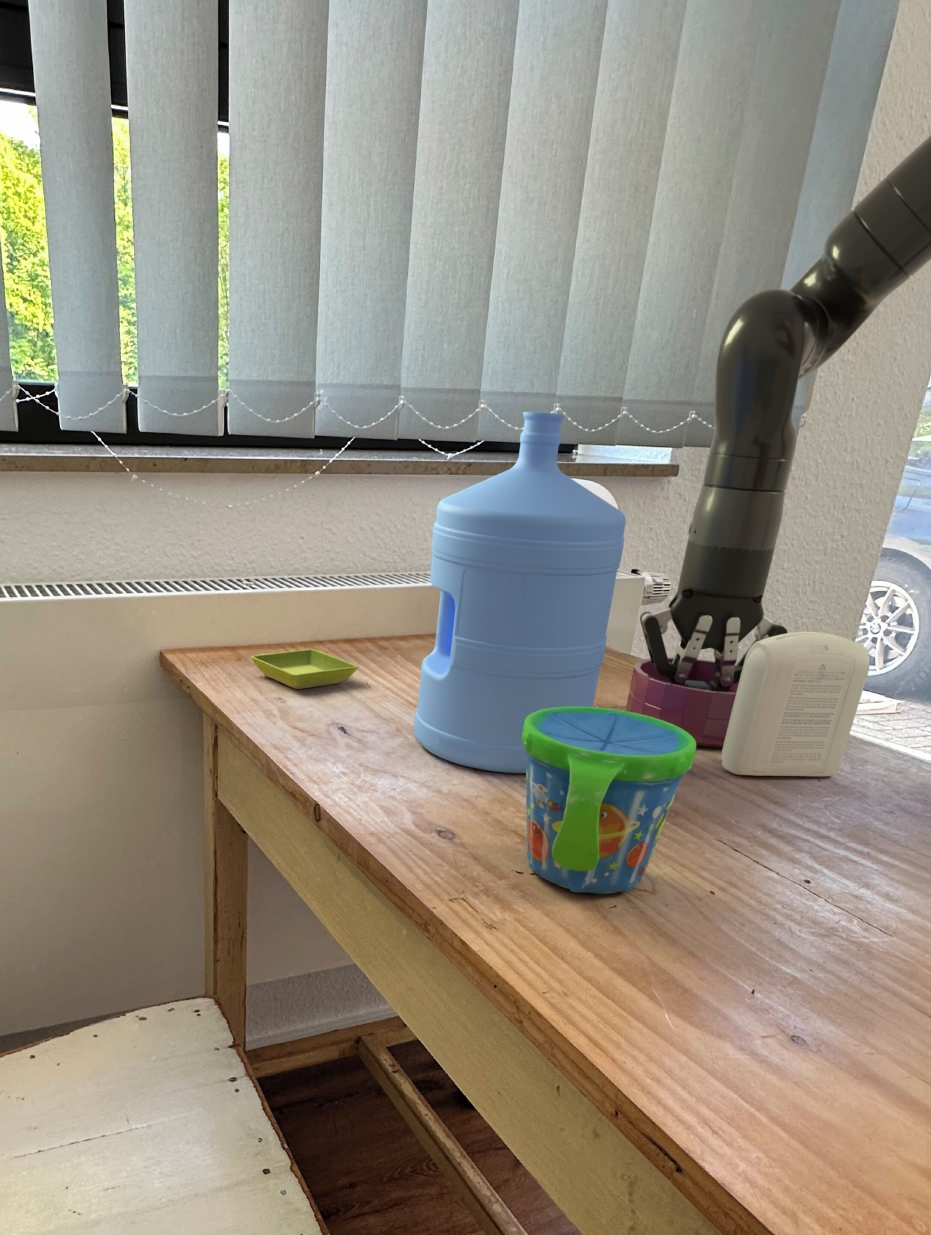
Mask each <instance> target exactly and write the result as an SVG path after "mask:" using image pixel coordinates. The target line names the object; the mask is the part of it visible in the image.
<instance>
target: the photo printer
mask: <svg viewBox="0 0 931 1235" xmlns="http://www.w3.org/2000/svg"><path fill="white" fill-rule="evenodd" d="M752 644H753V643H752ZM752 644H751V645H752ZM751 645H750V646H751ZM749 648H750V647H749ZM749 648H748V649H749ZM869 654H870V653H869V651H868V648H867V647H865V646H864V645H862V644H860V643H858V642H856V641H854V640H851V639H849V638H845V637H843V636H840V635H835V634H832V633H826V632H821V631H820V632H817V631H796V632H787V634H781V635H777V636H773V637H769V638H766V639H763V640H760V641H757V642H756V643H754V644H753V645H752V646H751V648H750V649H749V651H748V653H747V655H746V658H745V661H744V665H743V669H742V673H741V677H740V681H739V685H738V689H737V693H736V697H735V701H734V705H733V709H732V713H731V717H730V721H729V725H728V729H727V733H726V737H725V741H724V746H723V748H722V749H721V756H720V760H721V767H722V768H723V769H724V770H725V771H728V772H729V773H732V774H734V775H738V776H759V777H761V776H762V777H763V776H765V777H767V776H769V777H770V776H771V777H833V776H836V775H837V774H838V772H839V770H840V767H841V764H842V761H843V757H844V754H845V751H846V748H847V743H848V741H849V738H850V734H851V730H852V728H853V724H854V720H855V717H856V714H857V711H858V707H859V705H860V701H861V698H862V694H863V690H864V687H865V684H866V682H867V678H868V675H869V671H870V655H869Z"/></svg>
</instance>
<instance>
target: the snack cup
mask: <svg viewBox="0 0 931 1235" xmlns="http://www.w3.org/2000/svg"><path fill="white" fill-rule="evenodd" d="M522 743H523V746H524V748H525V751H526V755H527V765H526V766H527V769H526V773H525V796H526V797H525V798H526V799H525V805H526V806H525V812H526V822H525V823H526V844H527V846H526V855H527V859H528V866H529V868H530V869H531V871H532V873H533V874H538V875H539V876H540V877H541V878H543V879H545V880H546V881H548V882H549V883H552V884H554V885H556V886H559V887H561V888H565V889H568V890H570V892H573V893H587V894H589V893H591V894H595V895H605V894H614V893H618V892H626V893H627V892H631V890H634V888H635V887H636V885H637V884H639V883H640V882H641V881H642V878H643V876H644V875H645V873H646V870H647V868H648V866H649V864H650V861H651V859H652V857H653V853H654V851H655V849H656V845H657V842H658V841H659V839H660V836H661V833H662V831H663V828H664V825H665V823H666V821H667V819H668V818H667V817H668V815H669V812H670V810H671V807H672V805H673V803H674V799H675V797H676V793H677V791H678V788H679V785H680V783H681V780H682V778H683V777H684V776H685V775H686V773H687V772H689V771H690V770H691V768H692V766H693V764H694V761H695V756H696V751H697V746H696V742H695V739H694V738H693V737H692V736H691V735H690V734H689V733H688V732H686V731H685V730H683V729H681V728H679V727H677V726H675V725H673V724H670V723H668V722H665V721H663V720H660V719H656V718H653V717H649V716H646V715H642V714H638V713H632V712H628V711H626V710H620V709H614V708H607V707H597V706H596V707H594V706H593V707H577V706H574V707H557V708H548V709H543V710H539V711H536V712H534V713H532V714H530V715H529V716H527V717H526V719H525V722H524V726H523V731H522Z"/></svg>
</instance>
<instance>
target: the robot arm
mask: <svg viewBox="0 0 931 1235" xmlns="http://www.w3.org/2000/svg"><path fill="white" fill-rule="evenodd" d="M823 249H824V250H823V253H822V255H821V257H820V258H818V260H817V261H816V262H815V263H814V264H813V265H812V266H811V267H810V268H809V269H808V270H807V271H806V273H804V275H802V277H801V278H800V279H799V280H798V281H797V282H796V283H795V284H794V285H793V286H792V287H791V288H790V289H789V290H787V289H783V288H771V289H765V290H761V291H759V292H756V293H755V294H753V295H751V296H749V297H748V298H747V299H746V300H744V301H743V302H742V303H741V304H740V305H739V306H738V307H737V308H736V310H735V311H734V312H733V313H732V315H731V316H730V318H729V320H728V322H727V324H726V326H725V329H724V331H723V333H722V337H721V340H720V343H719V348H718V354H717V360H716V367H715V380H714V401H713V402H714V404H713V415H714V416H713V418H714V420H713V421H714V422H713V423H714V426H713V436H712V440H711V443H710V447H709V452H708V455H707V456H708V457H707V462H706V466H705V471H704V476H703V480H702V485H701V488H700V492H699V495H698V498H697V501H696V503H695V506H694V510H693V513H692V518H691V522H690V523H689V527H688V538H687V542H686V548H685V552H684V557H683V561H682V566H681V571H680V576H679V581H678V584H677V585H678V586H677V591H676V593H675V596H673V598H672V599H671V601H670V602H669V604H668V607H666V608H663V609H660V610H658V611H654V612H650V611H644V612H642V613H641V614H640V616H639V622H640V625H641V628H642V633H643V636H644V640H645V644H646V648H647V652H648V655H649V659H651V663H652V666H653V667H654V669H655V670H656V671H657V672H658V673H659V674H660V675H664V676H666V677H668V683H672V684H676V685H680V686H685V687H687V686H688V685H687V683H686V682H685V681H686V680H687V679H688V676H689V673H690V671H691V668H692V666H693V663H694V662H695V661H696V660H697V659H699V654H700V652H701V651H702V650H708V649H712V650H713V658H714V661H715V663H714V680H713V681H710V684H709V687H710V688H711V689H712V690H713V691H718V692H729V689H730V687H731V686H732V685H733V684H735V683H738V682H739V681H740V677H741V673H742V669H743V665H744V661H745V658H746V655H747V653H748V651H749V649H750V648H751V646H752V645H753V644H754V643H756V642H757V641H760V640H763V639H766V638H769V637H773V636H777V635H781V634H787V633H788V630H787V628H786V627H784V626H783V625H782V624H781V623H779V622H777V621H771V620H770V619H769V618H767V617H765V613H764V611H765V610H764V609H763V604H762V601H763V597H764V594H765V590H766V585H767V582H768V578H769V574H770V569H771V566H772V561H773V557H774V553H775V549H776V546H777V541H778V536H779V532H780V528H781V524H782V519H783V514H784V505H785V503H784V502H785V496H786V490H787V487H788V483H789V479H790V475H791V471H792V468H793V462H794V459H795V454H796V449H797V442H798V429H797V426H796V424H795V423H794V421H793V412H794V406H795V400H796V394H797V388H798V384H799V382H800V381H802V380H804V379H805V378H807V377H808V376H810V375H811V374H813V373H814V372H816V371H817V370H818V369H819V368H820V367H821V366H823V365H824V364H825V363H826V362H828V360H830V359H831V358H832V357H833V356H834V355H835V354H836V353H837V352H838V351H839V350H841V348H842V347H843V346H844V345H845V344H846V343H847V341H848V340H849V339H850V338H851V337H852V336H853V335H854V334H855V333H856V332H857V331H858V330H859V329H860V328H861V326H863V324H864V323H865V322H866V321H867V320H868V319H869V318H870V316H872V314H873V313H874V312H875V311H876V310H877V308H878V307H879V306H880V304H881V303H882V302H884V300H885V299H886V298H887V297H888V296H890V295H891V294H892V293H894V292H895V291H896V290H897V289H899V288H900V287H901V286H902V285H904V284H905V283H906V282H907V281H908V280H910V279H911V277H912V276H914V275H915V274H916V273H917V272H918V271H920V270H921V269H922V268H923V267H924V266H925V265H927V264H928V263H929V262H930V261H931V135H930V136H928V137H927V138H926V139H925V140H923V142H922V143H920V144H919V145H918V146H917V147H916V148H915V149H913V151H911V153H909V154H908V155H907V156H906V157H905V158H904V159H903V160H902V161H901V162H900V163H899V164H898V165H897V166H896V167H894V168H893V169H892V170H891V171H890V172H889V173H888V174H887V175H886V176H885V177H884V178H883V179H882V180H881V181H880V182H879V183H878V184H877V185H876V186H875V187H874V188H872V189H871V191H870V192H868V193H867V195H865V196H864V197H863V198H862V199H861V200H860V201H859V202H858V203H857V204H856V205H855V206H854V207H853V209H851V210H850V211H849V212H848V213H847V214H846V215H845V216H844V217H843V218H842V219H841V220H840V221H839V222H838V223H837V224H836V226H835V227H834V228H833V229H832V231H830V233H829V235H828V236H827V238H826V240H825V243H824V247H823ZM670 621H672V622H673V624H674V627H675V628H676V631H677V633H678V635H679V639H678V641H677V644H676V646H675V654H674V657H673V658H674V659H673V662H672V663H671V662H669V661H668V658H669V657H668V653H667V649H666V646H665V642H664V639H663V638H664V637H663V635H664V634H665V633H666V632H667V631H668V623H669V622H670ZM755 628H756V629H755ZM754 629H755V632H754V634H753V635H754V638H755V639H754V641H753V642H752V644H751V645H750V646H749V647H748V649H747V650H746V652H745V653H744V654H743V656H742V657H741V658H740V660H739V661H738V649H739V643H740V642H741V641H743V640H744V639H745V638H746V637H747V636H748V635H749V634H750V633H751V632H752V631H753V630H754ZM737 661H738V662H737ZM736 663H737V664H736ZM735 665H736V666H735Z"/></svg>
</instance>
